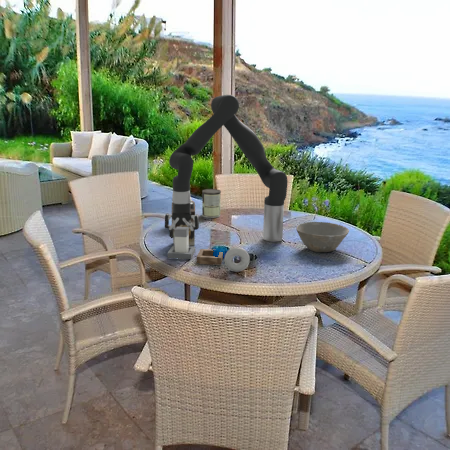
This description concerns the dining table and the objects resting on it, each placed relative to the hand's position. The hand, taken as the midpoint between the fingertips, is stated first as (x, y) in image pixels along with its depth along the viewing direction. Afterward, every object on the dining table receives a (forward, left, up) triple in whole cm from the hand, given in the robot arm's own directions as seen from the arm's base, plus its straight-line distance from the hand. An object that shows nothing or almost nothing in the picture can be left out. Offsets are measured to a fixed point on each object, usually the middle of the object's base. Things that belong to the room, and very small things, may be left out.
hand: (181, 238), depth 211 cm
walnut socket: (-13, +4, -8) cm, 15 cm away
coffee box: (+2, -15, -8) cm, 17 cm away
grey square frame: (0, 0, -8) cm, 8 cm away
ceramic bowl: (-60, -18, -8) cm, 63 cm away
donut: (-25, +15, -8) cm, 30 cm away
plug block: (0, 0, -8) cm, 8 cm away
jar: (+8, -44, -8) cm, 45 cm away
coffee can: (-3, -68, -8) cm, 69 cm away
